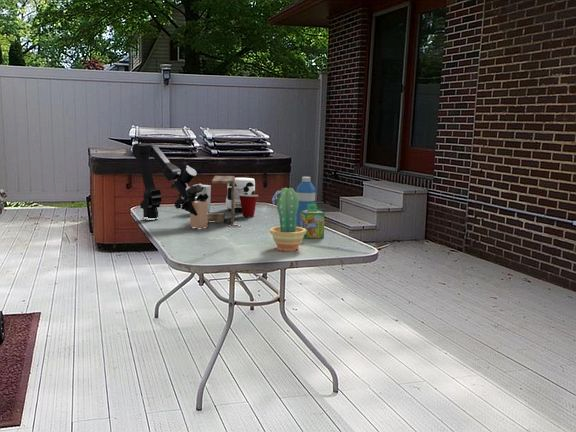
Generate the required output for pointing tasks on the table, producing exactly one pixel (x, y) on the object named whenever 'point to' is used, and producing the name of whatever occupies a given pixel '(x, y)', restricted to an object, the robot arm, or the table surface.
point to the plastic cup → (248, 204)
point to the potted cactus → (287, 220)
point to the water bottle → (305, 196)
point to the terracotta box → (199, 214)
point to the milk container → (240, 191)
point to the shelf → (231, 181)
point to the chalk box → (312, 222)
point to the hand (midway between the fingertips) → (201, 214)
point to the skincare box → (207, 191)
